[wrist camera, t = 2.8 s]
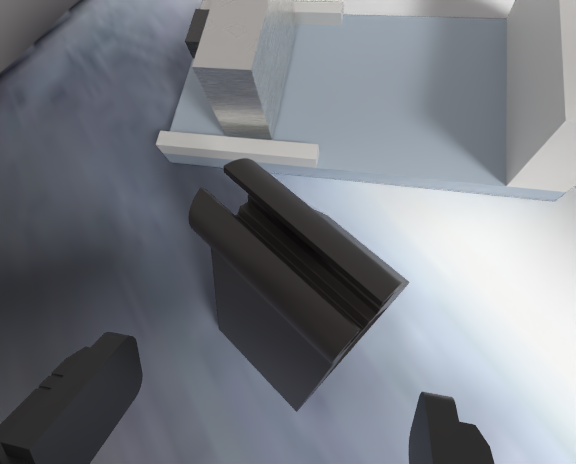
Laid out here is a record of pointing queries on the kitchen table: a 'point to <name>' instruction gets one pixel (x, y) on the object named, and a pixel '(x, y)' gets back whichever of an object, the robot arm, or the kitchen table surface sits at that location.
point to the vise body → (412, 103)
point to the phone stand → (289, 281)
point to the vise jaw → (243, 61)
